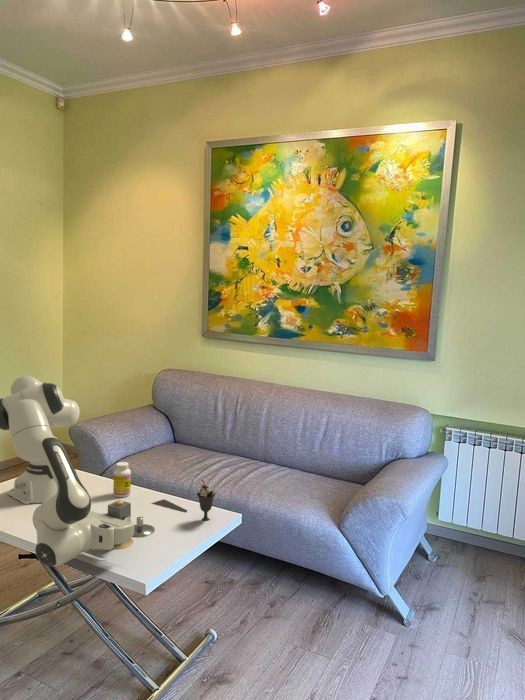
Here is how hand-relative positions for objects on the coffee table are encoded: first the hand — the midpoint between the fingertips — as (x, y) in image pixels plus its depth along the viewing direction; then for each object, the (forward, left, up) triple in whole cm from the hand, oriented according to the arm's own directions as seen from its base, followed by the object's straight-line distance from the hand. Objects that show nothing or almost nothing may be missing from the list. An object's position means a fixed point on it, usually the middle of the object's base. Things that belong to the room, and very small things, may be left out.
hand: (121, 516), depth 164 cm
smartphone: (-4, +30, -10) cm, 32 cm away
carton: (0, -1, -5) cm, 5 cm away
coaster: (0, -1, -9) cm, 9 cm away
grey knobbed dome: (0, +9, -9) cm, 13 cm away
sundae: (+14, +28, -9) cm, 33 cm away
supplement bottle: (-28, +31, -9) cm, 43 cm away
